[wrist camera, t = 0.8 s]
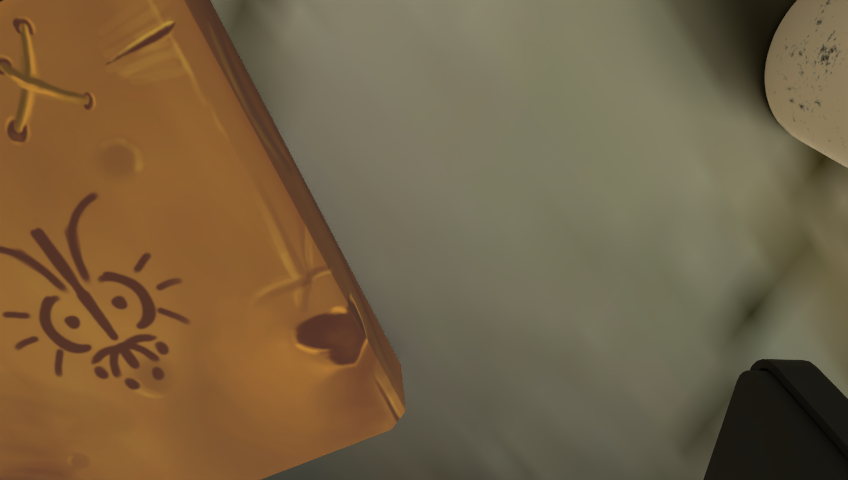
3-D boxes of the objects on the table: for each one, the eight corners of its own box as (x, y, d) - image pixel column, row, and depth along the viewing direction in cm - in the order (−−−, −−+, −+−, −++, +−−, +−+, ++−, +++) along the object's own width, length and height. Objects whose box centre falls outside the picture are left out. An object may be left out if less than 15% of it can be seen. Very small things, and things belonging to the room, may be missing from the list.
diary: (399, 352, 39) (407, 424, 34) (94, 472, 41) (59, 557, 36) (176, -75, 29) (140, -64, 24) (-219, 108, 31) (-332, 154, 26)
